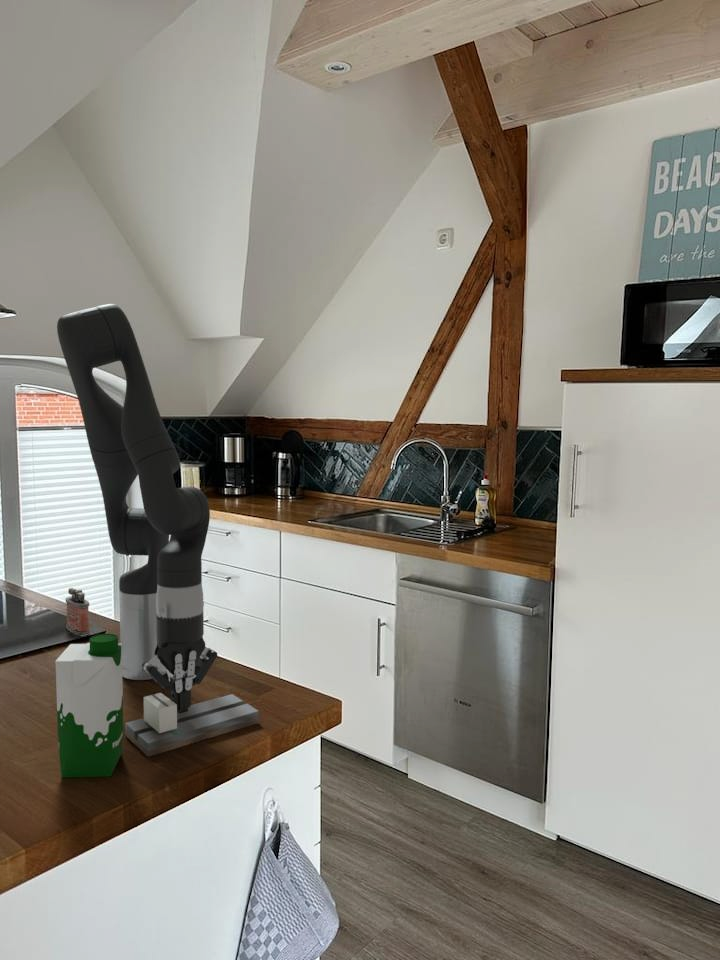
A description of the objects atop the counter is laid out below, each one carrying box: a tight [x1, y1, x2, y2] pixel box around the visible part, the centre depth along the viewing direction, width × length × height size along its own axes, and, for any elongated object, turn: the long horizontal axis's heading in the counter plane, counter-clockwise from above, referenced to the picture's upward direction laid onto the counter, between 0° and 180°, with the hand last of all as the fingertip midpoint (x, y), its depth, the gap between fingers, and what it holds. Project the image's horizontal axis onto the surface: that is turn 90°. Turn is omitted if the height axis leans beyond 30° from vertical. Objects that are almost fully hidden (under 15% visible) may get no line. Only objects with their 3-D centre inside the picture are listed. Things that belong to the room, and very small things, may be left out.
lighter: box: [65, 587, 91, 635], centre depth 176 cm, size 8×3×10 cm, turn 47°
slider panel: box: [124, 693, 260, 758], centre depth 127 cm, size 20×9×2 cm, turn 129°
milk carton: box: [54, 633, 124, 779], centre depth 114 cm, size 9×9×20 cm
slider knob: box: [143, 692, 177, 733], centre depth 123 cm, size 3×6×5 cm, turn 39°
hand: (180, 711), depth 126 cm, fingers closed
